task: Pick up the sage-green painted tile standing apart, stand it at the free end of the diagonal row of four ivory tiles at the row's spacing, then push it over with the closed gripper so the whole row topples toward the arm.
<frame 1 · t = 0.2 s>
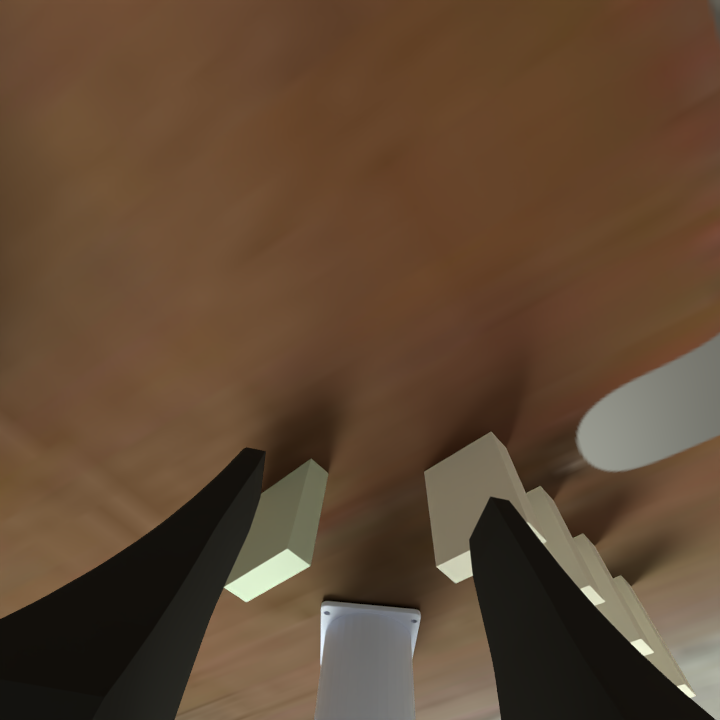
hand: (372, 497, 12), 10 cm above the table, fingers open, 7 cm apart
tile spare: (293, 484, 25), on the table
tile 1: (593, 593, 28), on the table
tile 3: (512, 510, 25), on the table
tile 2: (555, 554, 27), on the table
tile 4: (463, 460, 23), on the table
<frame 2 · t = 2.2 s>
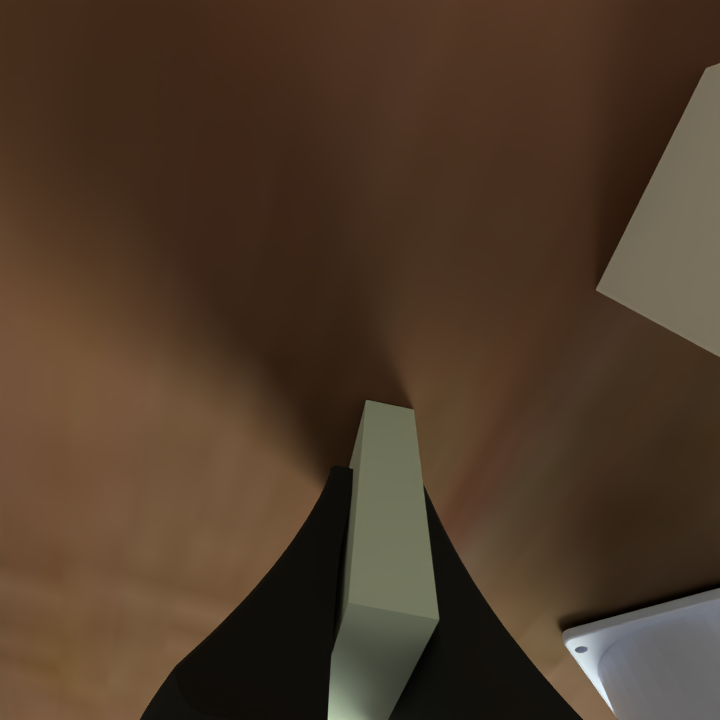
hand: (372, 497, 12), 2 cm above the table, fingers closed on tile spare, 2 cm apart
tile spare: (373, 462, 13), on the table, touching gripper
tile 4: (675, 199, 9), on the table
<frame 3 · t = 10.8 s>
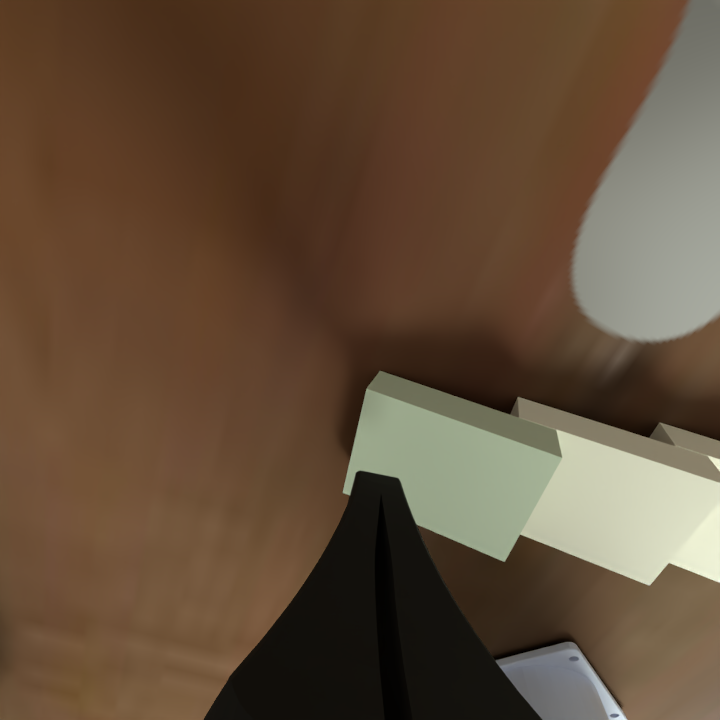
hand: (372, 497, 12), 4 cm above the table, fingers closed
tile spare: (360, 433, 15), point 1 cm above the table, tilted 73°, touching tile 4
tile 3: (632, 482, 15), point 1 cm above the table, tilted 74°, touching tile 2, tile 4
tile 4: (495, 458, 15), point 1 cm above the table, tilted 74°, touching tile 3, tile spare
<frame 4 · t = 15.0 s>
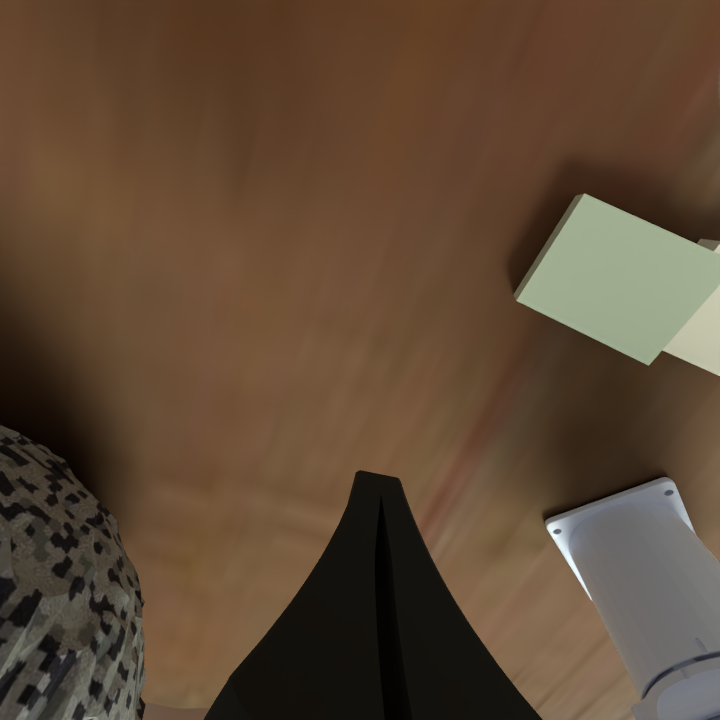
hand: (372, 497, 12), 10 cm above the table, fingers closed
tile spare: (545, 249, 17), point 1 cm above the table, tilted 76°, touching tile 4
bowl: (18, 485, 28), on the table
tile 4: (670, 290, 18), point 1 cm above the table, tilted 79°, touching tile 3, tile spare
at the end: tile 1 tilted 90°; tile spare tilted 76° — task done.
